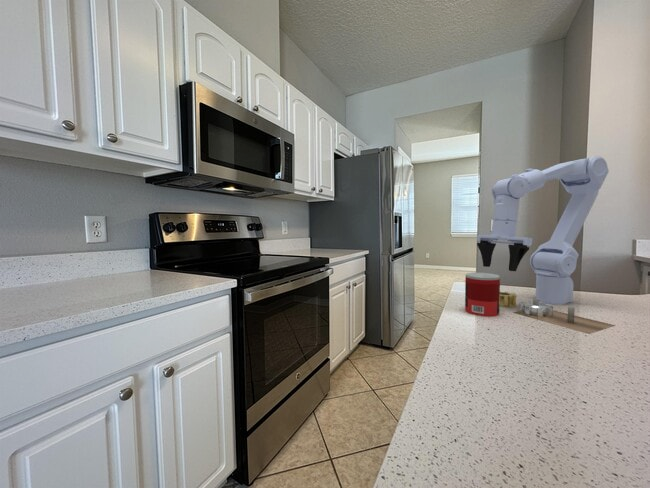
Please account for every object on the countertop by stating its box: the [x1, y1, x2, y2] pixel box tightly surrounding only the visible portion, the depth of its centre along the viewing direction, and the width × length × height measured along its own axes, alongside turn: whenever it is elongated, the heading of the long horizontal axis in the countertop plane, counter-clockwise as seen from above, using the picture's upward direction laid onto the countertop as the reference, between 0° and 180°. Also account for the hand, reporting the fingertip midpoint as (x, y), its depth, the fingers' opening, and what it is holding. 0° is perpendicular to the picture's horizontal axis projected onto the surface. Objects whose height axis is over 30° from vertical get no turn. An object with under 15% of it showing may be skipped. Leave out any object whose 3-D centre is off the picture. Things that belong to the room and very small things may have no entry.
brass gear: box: [499, 291, 518, 308], centre depth 81 cm, size 6×6×4 cm
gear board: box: [512, 298, 616, 335], centre depth 68 cm, size 11×16×4 cm
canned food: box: [464, 272, 501, 318], centre depth 74 cm, size 8×8×11 cm
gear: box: [518, 300, 554, 318], centre depth 73 cm, size 7×7×2 cm
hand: (498, 268), depth 79 cm, fingers open, 7 cm apart
